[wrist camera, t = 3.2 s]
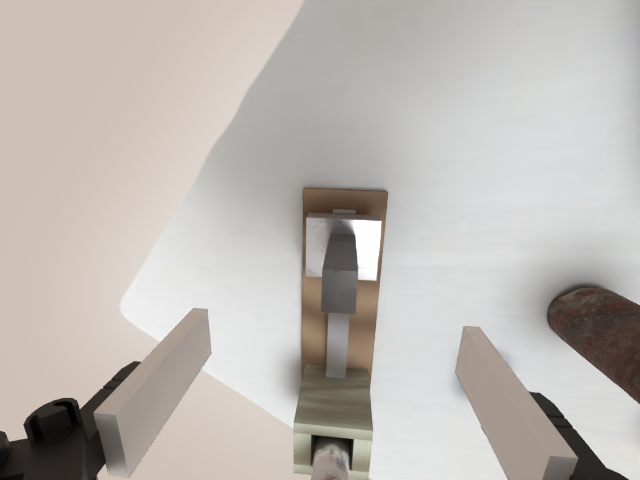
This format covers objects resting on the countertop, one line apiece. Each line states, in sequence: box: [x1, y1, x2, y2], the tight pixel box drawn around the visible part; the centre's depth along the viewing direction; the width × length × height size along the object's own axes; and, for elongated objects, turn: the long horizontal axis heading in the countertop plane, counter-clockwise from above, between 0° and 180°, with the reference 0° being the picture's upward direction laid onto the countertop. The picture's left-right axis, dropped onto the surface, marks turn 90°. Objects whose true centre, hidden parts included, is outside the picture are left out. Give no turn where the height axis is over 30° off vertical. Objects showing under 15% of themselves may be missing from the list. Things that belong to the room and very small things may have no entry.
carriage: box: [306, 212, 381, 314], centre depth 26 cm, size 6×7×12 cm
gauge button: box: [311, 435, 349, 480], centre depth 30 cm, size 4×4×8 cm
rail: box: [294, 188, 388, 480], centre depth 33 cm, size 30×9×10 cm, turn 179°
